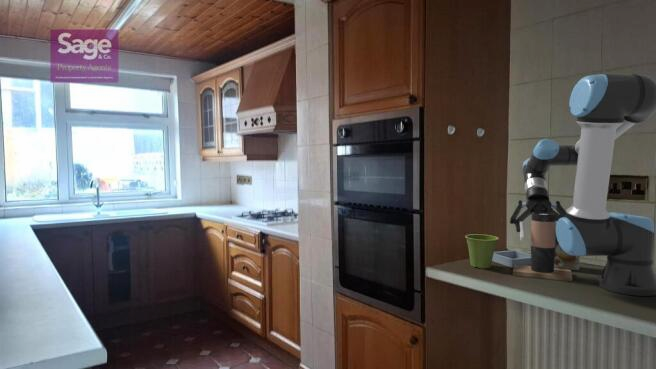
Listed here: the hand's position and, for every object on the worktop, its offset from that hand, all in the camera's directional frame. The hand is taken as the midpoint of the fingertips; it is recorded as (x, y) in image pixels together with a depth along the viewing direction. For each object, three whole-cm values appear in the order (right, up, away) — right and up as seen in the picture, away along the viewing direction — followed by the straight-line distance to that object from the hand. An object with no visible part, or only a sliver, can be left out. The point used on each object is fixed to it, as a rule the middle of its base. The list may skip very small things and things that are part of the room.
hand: (543, 239), depth 147 cm
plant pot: (-16, -12, +15) cm, 25 cm away
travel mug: (+1, -11, +3) cm, 12 cm away
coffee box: (+13, -12, +12) cm, 22 cm away
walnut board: (+1, -13, +3) cm, 13 cm away
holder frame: (-1, -11, +21) cm, 24 cm away
